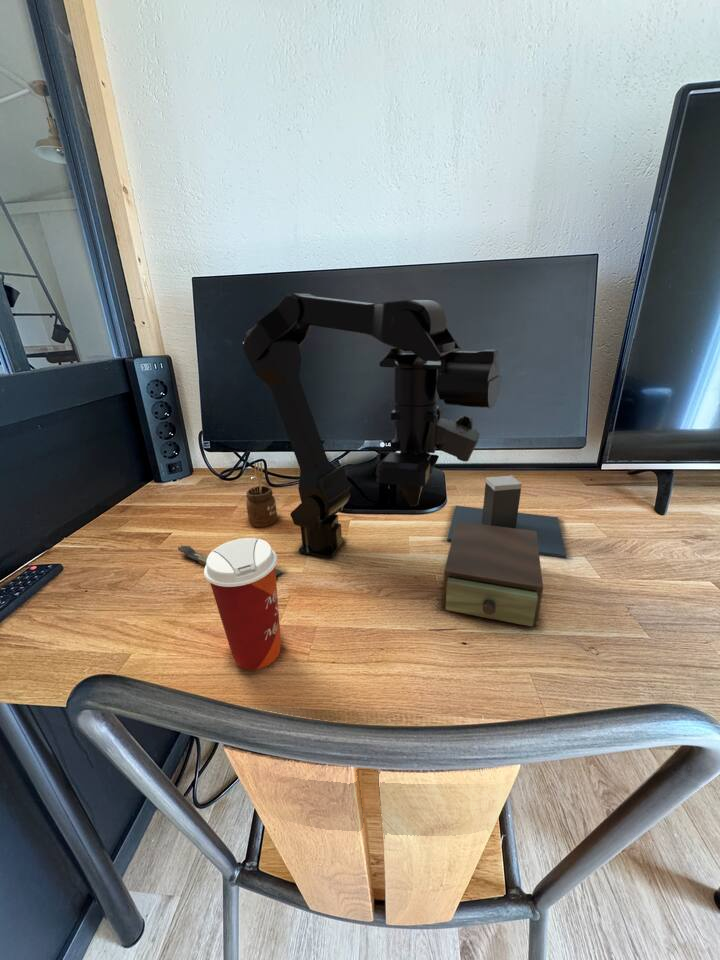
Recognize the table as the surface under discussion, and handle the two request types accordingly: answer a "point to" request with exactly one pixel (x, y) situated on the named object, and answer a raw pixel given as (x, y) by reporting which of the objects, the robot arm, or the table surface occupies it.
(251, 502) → the utensil holder
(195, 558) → the tactical tomahawk
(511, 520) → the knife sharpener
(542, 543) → the mat
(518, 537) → the cabinet
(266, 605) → the coffee cup
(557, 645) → the table surface
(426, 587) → the table surface
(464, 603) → the drawer
